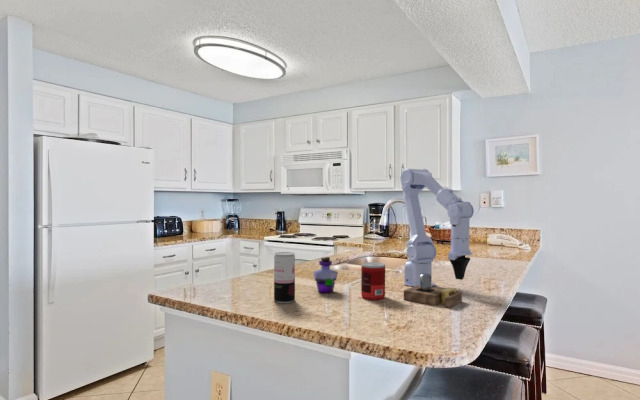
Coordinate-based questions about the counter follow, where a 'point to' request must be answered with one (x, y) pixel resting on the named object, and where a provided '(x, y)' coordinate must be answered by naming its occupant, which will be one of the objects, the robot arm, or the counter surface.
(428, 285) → the peg
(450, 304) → the mount
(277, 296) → the beverage can
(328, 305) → the counter surface
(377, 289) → the canned food
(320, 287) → the potion bottle
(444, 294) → the khaki rectangular plank
